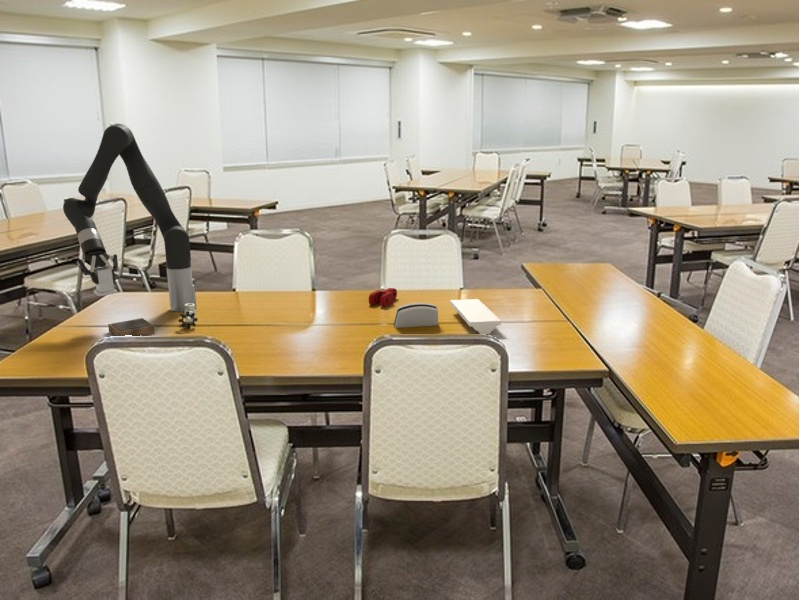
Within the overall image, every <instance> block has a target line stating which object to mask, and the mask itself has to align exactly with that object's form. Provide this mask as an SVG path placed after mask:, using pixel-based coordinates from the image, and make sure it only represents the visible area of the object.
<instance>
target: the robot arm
mask: <svg viewBox="0 0 800 600" xmlns="http://www.w3.org/2000/svg"><path fill="white" fill-rule="evenodd" d="M118 157H120V158H121V159H122V162H123V163H124V166H125V167H126V171H127V173H128V177H129V181H130V184H131V186H132V188H133V190H134V192H135V193H136V195H137V198H138V199H139V201H140V202H141V203H142V205H143V206H144V208H145V209H146V211H147V212H148V213H149V214H150V215H151V217H152V218H153V220H154V221H155V223H156V224H157V226H158V228H159V232H160V233H161V235H162V237H163V241H164V252H165V264H166V275H167V286H168V287H167V288H168V296H169V307H170V308H169V309H170V311H172V312H178V313H180V312H185V304H188V303H193V304H194V305H195V308H194V309H195V310H196V309H197V298H196V289H195V288H196V287H195V285H194V284H193V274H192V273H193V272H192V257H191V256H192V255H191V242H190V236H189V234H188V232H187V231H186V230H185V228H184V227H183V226H182V224H181V223H180V222H179V220H178V219H177V217H176V216H175V214H174V212H173V210H172V209H171V205H170V204H169V203H170V202H169V201H168V198H167V195H166V193H165V192H164V189H163V187H162V186H161V184H160V182H159V180H158V179H157V177H156V176H155V174H154V172H153V170H152V169H151V167H150V165H149V164H148V162H147V160H145V158H144V156H143V154H142V152H141V150H140V148H139V145H138V143H137V140H136V139H135V135H134V134H133V132H132V130H131V129H130V127H128V126H127V125H125V124H122V123H115V124H112V125H110V126H107V127H106V128H105V130H104V131H103V135H102V137H101V140H100V143H99V147H98V150H97V153H96V154H95V157H94V159H93V161H92V163H91V164H90V166H89V168H88V170H87V171H86V173H85V175H84V177H83V178H82V179H81V180H82V181H81V182H80V184H79V186H78V191H77V192H78V193H79V194H80V195H81V196H83V197H84V200H83V199H78V198H74V197H69V198H67V199H66V200H65V201H64V202H63V205H62V206H63V207H62V210H63V213H64V216H65V217H66V219H67V221H68V222H70V224H71V226H72V227H73V228H74V229H75V233H76V235H77V239H78V242H79V247H80V249H81V251H82V254H83V258H82V259H81V258H77V260H76V265H77V266H78V268H79V270H80V272H81V273H82V274H83V275H84V276H90V278H91V282H92V283H94V285H96V284H98V279H97V277H96V274H95V272H94V269H95V268H102V267H109V268H111V269H112V277H113V282H115V280H116V273H115V272H117V271H118V268H119V267H118V266H119V261H118V255H117V254H116V253H115V254H113V255H109V254H108V253H107V251H106V247H105V244H104V243H103V239H102V237H101V235H100V232H99V231H98V228H97V225H96V223H95V221H94V220H93V219H92V217H93V216H94V214H95V211H96V206H97V203H98V197H99V195H100V194H101V192H102V189H103V188H104V185H105V183H106V182H107V179H108V177H109V174H110V171H111V168H112V166H113V165H114V163H115V161H116V160H117V158H118ZM109 260H110V261H111V262H112V265H111V263H110V262H109ZM85 263H86V264H87V265H88V266H89V267H90V269H88V268H87V267H86V265H85Z"/></svg>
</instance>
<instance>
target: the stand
mask: <svg viewBox="0 0 800 600" xmlns="http://www.w3.org/2000/svg"><path fill="white" fill-rule="evenodd" d="M107 326H108V327H107V328H108V333H109V334H111V336H113V337H114V336H125V335H132V336H140V335H146V336H149V335H151V336H152V335H155V325H153V324H152V323H151V322H149V321H148V320H146V319H145V318H143V317H141V318H140V317H139V318H136V319H130V320H124V321H118V322H113V323H108V324H107Z"/></svg>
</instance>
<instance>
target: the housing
mask: <svg viewBox="0 0 800 600" xmlns="http://www.w3.org/2000/svg"><path fill="white" fill-rule="evenodd" d="M94 272H95V274H96V277H97V279H98V284H95V289H93V293H94V294H95V295H96V296H98V297H102V296H103V297H104V296H109V295H114V294H115V295H116V294H118V290H117V289H116V288H115V285H114V281H113V277H112V269H111V268H109V267H98V268H94Z"/></svg>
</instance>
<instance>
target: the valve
mask: <svg viewBox="0 0 800 600" xmlns="http://www.w3.org/2000/svg"><path fill="white" fill-rule="evenodd" d="M194 308H195V305H194V304H193V303H188V304H185V311H183V312H184V313H180V318H179V319H178V322H179V323H181V325H180V326H181V328H184V327H185V326H186V329H191V326H192V327H196V326H197V325H196V323H195V322H197V321H198V320H199V319H198V317H196V315H197V311H196V308H195V309H194ZM184 319H185V321H184ZM185 322H186V323H185Z"/></svg>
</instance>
